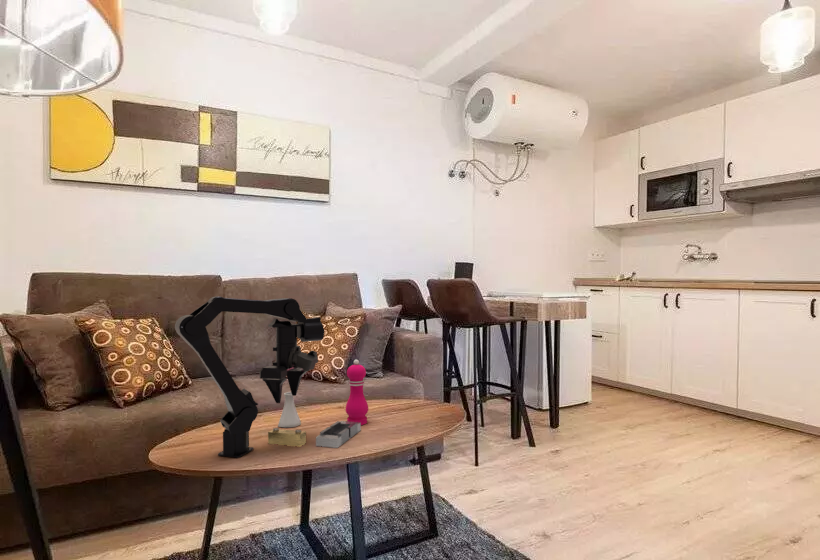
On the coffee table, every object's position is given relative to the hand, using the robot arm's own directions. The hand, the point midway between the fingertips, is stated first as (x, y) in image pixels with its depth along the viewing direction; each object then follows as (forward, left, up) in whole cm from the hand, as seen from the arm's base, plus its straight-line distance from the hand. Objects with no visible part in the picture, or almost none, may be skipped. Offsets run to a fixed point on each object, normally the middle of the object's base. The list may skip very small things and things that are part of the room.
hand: (286, 399), depth 131 cm
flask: (+15, +8, -12) cm, 21 cm away
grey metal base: (+7, -13, -12) cm, 19 cm away
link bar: (-1, -1, -12) cm, 12 cm away
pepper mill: (+22, -12, -12) cm, 28 cm away
